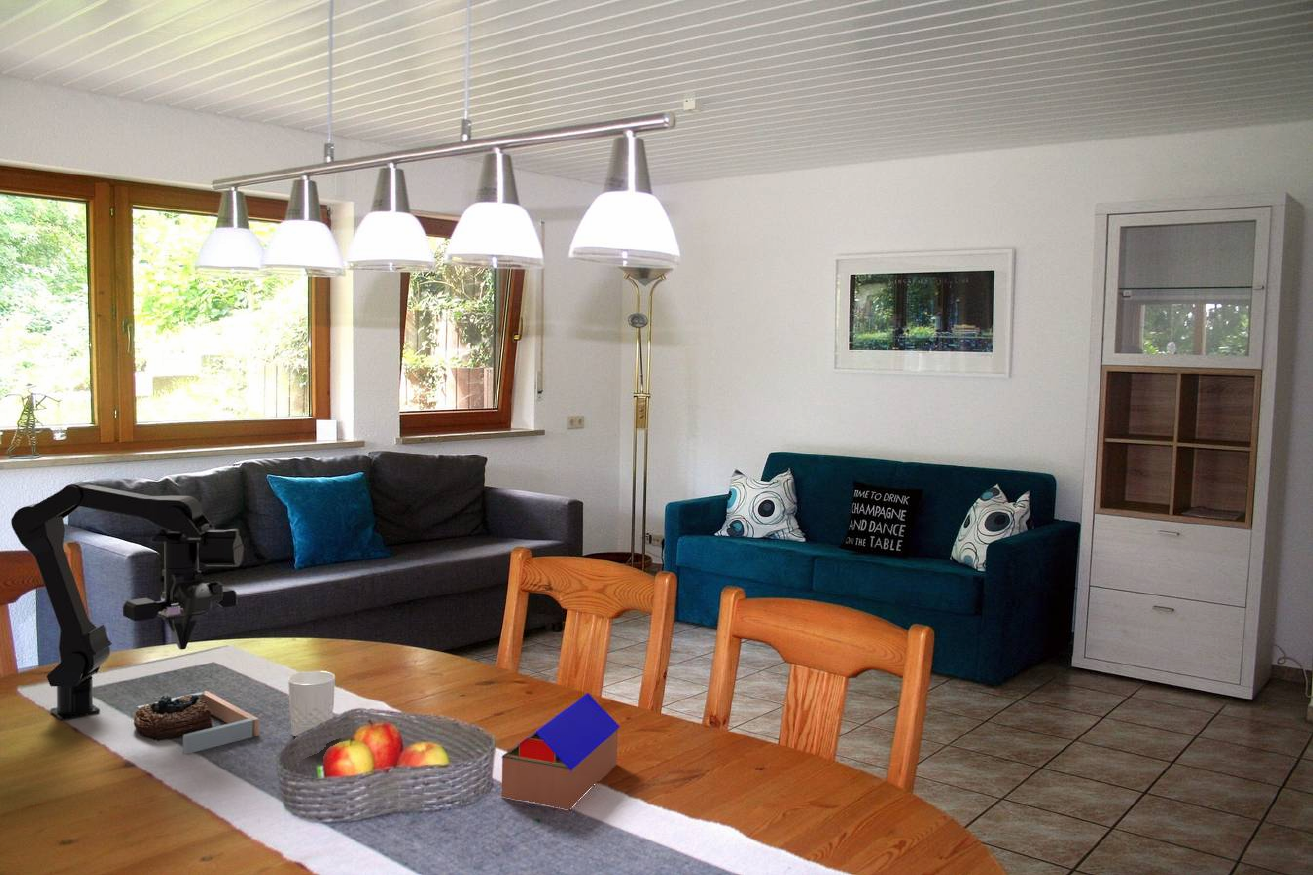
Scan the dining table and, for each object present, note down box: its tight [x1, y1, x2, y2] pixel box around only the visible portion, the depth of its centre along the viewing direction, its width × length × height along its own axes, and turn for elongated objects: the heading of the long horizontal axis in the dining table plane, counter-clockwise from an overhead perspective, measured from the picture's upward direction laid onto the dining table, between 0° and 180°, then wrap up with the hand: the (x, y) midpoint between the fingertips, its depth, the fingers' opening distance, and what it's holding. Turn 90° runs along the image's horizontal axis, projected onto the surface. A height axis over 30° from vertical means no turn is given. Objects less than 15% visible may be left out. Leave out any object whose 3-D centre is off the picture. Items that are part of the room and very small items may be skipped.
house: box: [501, 692, 621, 810], centre depth 165 cm, size 12×20×12 cm, turn 160°
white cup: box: [287, 670, 336, 737], centre depth 183 cm, size 8×8×10 cm
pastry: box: [133, 694, 213, 742], centre depth 184 cm, size 11×12×6 cm
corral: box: [136, 690, 260, 755], centre depth 183 cm, size 20×13×3 cm, turn 48°
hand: (182, 648), depth 191 cm, fingers closed
